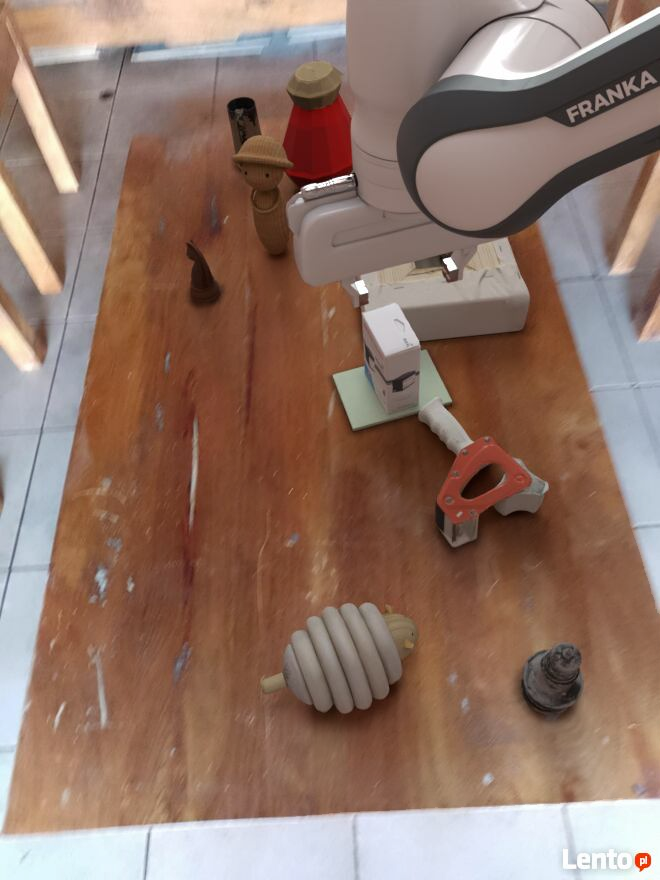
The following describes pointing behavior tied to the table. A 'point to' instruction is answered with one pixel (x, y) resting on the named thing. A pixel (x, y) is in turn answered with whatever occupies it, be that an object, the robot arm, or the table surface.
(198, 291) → the chess piece
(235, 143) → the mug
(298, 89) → the bottle
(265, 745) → the table surface
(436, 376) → the mat
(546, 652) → the dark grey tiered post
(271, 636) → the table surface
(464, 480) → the tape dispenser
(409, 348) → the ink box
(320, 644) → the toy sheep
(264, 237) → the figurine
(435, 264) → the box
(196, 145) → the table surface
